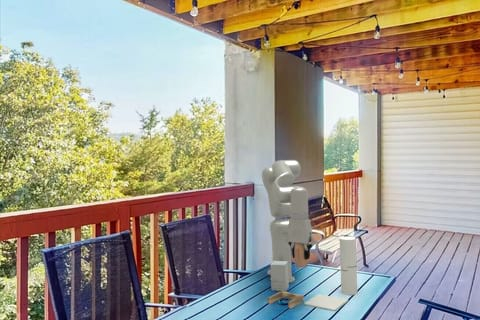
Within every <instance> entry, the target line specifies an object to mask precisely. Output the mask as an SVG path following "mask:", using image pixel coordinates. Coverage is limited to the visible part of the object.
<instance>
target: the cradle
mask: <svg viewBox="0 0 480 320" xmlns="http://www.w3.org/2000/svg"><path fill="white" fill-rule="evenodd" d="M281 299H287V300H289V301H288V302H287V305H288V309H291V310H292V309H293V308H295V307H296V306H298V305H300V304H301V303H304V295H303V294H297V293H293V292H290V291H289V292H288V291H277V292H276V293H274V294H273V295H271V296H269V297H267V304H269V305H273V303H275V302H277V301H278V300H281Z"/></svg>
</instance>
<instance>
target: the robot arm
mask: <svg viewBox="0 0 480 320" xmlns="http://www.w3.org/2000/svg"><path fill="white" fill-rule="evenodd" d="M301 170H302V167H301V165H300V163H299V161H298V160H296V159H287V160H286V159H284V160H283V159H280V160H275V162H273V164H272V165H271V166H268V167H264V168H263V170H262V172H261V179H262V184H263V187H264V188H265V191H266V194H267V199H268V205H269V212H270V215H271V216H272V217H273V218H276V219H274V220H272V221H271V222H270V224H269V232H270V236H271V237H270V238H271V247H272V249H271V250H272V262H273V261H288V278H289V284H291V283H293V282H295V280H296V279H295V277H294V276H293V275H292V274H293V273H292V258H293V259H295V253H294V249H295V246H294V243H300V244H304V247H305V250H304V259H305V260H307V261H308V260H309V259H310V257H311V249H312V248H313V247H314V246H315V245H316V244H317V241H316V240H315V238H314V237H313V229H312V228H313V227H312V224H311V220H310V218H309V198H308V197H309V194H308V189H307V188H305V187H303V186H298V185H297V186H292V185H293V184H294V183H295V180H296V179H297V178H298V177H299V176H300V175H301ZM278 218H279V219H278ZM291 256H292V257H291ZM266 274H267V275H269V276H271V269H268V270H267V273H266ZM269 280H271V277H270V279H269Z"/></svg>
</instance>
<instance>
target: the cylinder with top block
mask: <svg viewBox="0 0 480 320" xmlns="http://www.w3.org/2000/svg"><path fill="white" fill-rule="evenodd" d="M294 246H295V249H294V253H295V258H294V266H295V267H296V268H306V267H308V259H307V260H305V259H304V250H305V247H304V244H300V243H294Z"/></svg>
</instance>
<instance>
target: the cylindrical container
mask: <svg viewBox="0 0 480 320" xmlns="http://www.w3.org/2000/svg"><path fill="white" fill-rule="evenodd" d="M356 242H357V241H356V237H353V236H342V237H339V258H340V259H339V263H340V264H339V265H340V285H341V286H340V287H341V288H340V290H341V294H343V295H345V296H355V295H357V294H358V276H357V275H358V273H357V272H358V271H357V269H358V268H357V243H356Z"/></svg>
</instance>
